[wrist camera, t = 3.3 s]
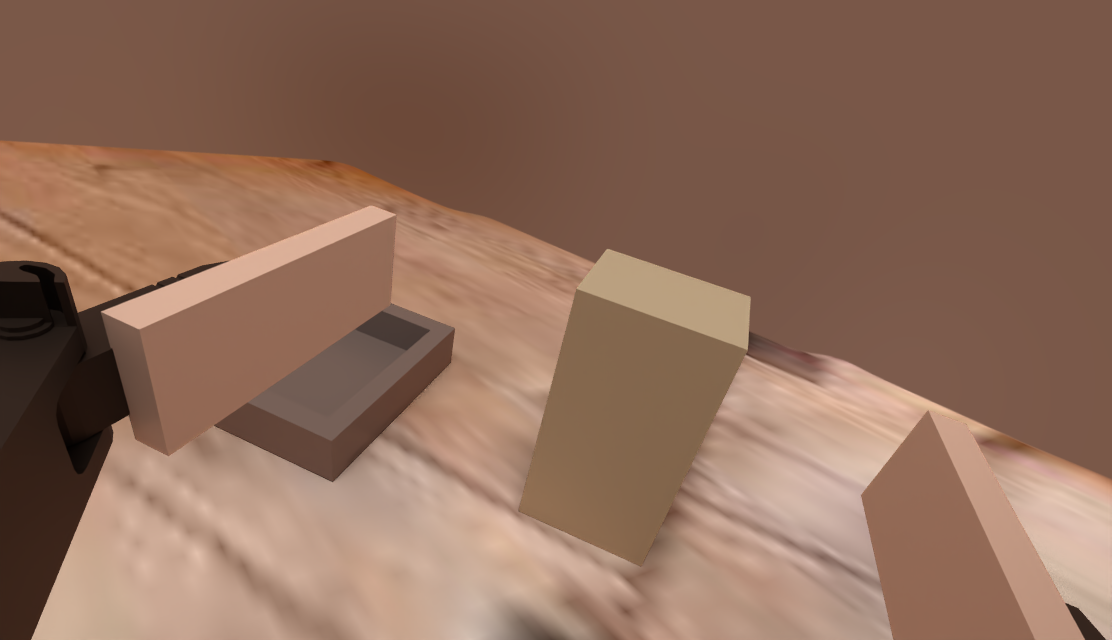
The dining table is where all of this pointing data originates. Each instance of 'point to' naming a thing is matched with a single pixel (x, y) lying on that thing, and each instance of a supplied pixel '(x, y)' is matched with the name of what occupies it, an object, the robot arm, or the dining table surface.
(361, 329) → the grey tray
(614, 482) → the tan rectangular block
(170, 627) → the dining table surface
